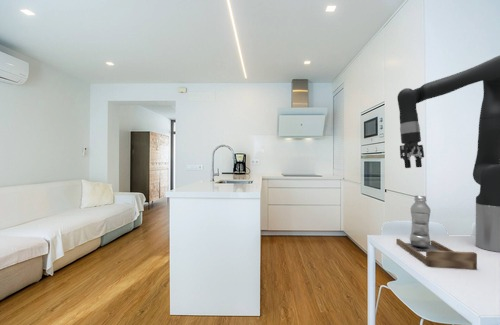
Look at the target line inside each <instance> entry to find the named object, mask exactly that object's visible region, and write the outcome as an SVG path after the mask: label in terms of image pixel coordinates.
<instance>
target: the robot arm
mask: <svg viewBox="0 0 500 325" xmlns="http://www.w3.org/2000/svg"><path fill="white" fill-rule="evenodd" d="M478 82H482V85H483V90H482V91H483V97H482V102H481V107H480V113H479V118H478V119H479V121H478V134H477V136H478V137H477V150H476V151H477V152H476V157H475V160H474V165H473V166H474V167H473V171H472V177H473V180H474V182H475V183H476V184H478V185H480V186H479V187H480V188H479V193H478V195H477V196H476V197H475V244H474V245H475V246H476V247H478V248H480V249H483V250H487V251H492V252H496V253H500V55H497V56H496V57H493V58H491V59H489V60H486V61H484V62H482V63H480V64H478V65H475V66H473V67H470V68H468V69H465V70H462V71H460V72H457V73H454V74H451V75H448V76H445V77H442V78H438V79H435V80H433V81H430V82H427V83H424V84H422V85H421V86H419V87H417V88H414V89H412V88H408V87H407V88H403V89H402V90H400V91H399V93H398V94H397V105H398V110H399V111H398V112H399V130H400V131H399V133H400V142H401V145H399V153H400V154H399V155H400V159H403V161H404V168H405V169H411V168H412V164H411V157H412V156H413V158H414V159H415V160H414V161H415V168H422V166H423V163H422V159H423V158H424V157H425V152H424V145H423V144H419V143H420V142H422V138H421V126H420V123H419V116H418V111H417V104H419V103H421V102H424V101H427V100H430V99H435V98H436V97H441V96H444V95H446V94H449V93H452V92H455V91H457V90H460V89H462V88H464V87H467V86H469V85H473V84H476V83H478ZM402 144H403V145H402Z"/></svg>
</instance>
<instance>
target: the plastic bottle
mask: <svg viewBox="0 0 500 325" xmlns="http://www.w3.org/2000/svg"><path fill="white" fill-rule="evenodd" d="M410 214H411V215H410V216H411V231H410V235H409V243H411V244H412V245H414V246H417V247H424V248H426V247H428V246H429V245H431V238H430V233H429V232H430V230H429V223H430V217H431V208H430V206H429V205H428V204H427V196H425V195H414V203H412V205H411V206H410Z"/></svg>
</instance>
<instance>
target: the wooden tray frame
mask: <svg viewBox="0 0 500 325" xmlns="http://www.w3.org/2000/svg"><path fill="white" fill-rule="evenodd" d="M396 245H398V246H400V247H401V248H402V249H403V250H405V251H406V252H407V253H409V254H411V255H412V256H413V257H414V258H415V259H417V260H419V261H420V262H421V263H422V264H424V265H425V266H427V267H430V268H442V269H443V268H444V269H445V268H446V269H447V268H448V269H463V270H464V269H465V270H477V269H478V267H477V266H478V254H477V253H476V252H474V251H473V252H472V251H455V250H453V249H450V248H449V247H447V246H445V245H443V244H441V243H439V242H437V241H435V240H433V239H430V245H429V246H428V247H426V248H424V247H417V246H414V245H412V244H411V242H409V243H408V242H404V241H403V240H402V239H400V238H396ZM421 252H423V253H424V252H425V253H426V254H422V253H421Z"/></svg>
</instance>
